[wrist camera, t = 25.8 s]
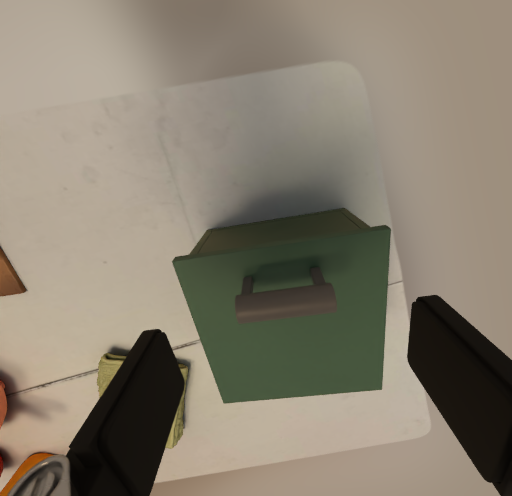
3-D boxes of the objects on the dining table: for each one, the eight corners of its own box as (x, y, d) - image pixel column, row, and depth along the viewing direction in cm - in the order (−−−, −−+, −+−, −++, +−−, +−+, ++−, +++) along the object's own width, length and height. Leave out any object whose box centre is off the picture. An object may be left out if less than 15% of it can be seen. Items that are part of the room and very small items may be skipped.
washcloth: (192, 358, 36) (185, 378, 33) (184, 434, 42) (178, 455, 39) (102, 343, 35) (87, 362, 32) (108, 422, 42) (96, 443, 39)
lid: (175, 256, 19) (147, 295, 14) (385, 224, 17) (429, 256, 13) (224, 396, 26) (216, 452, 21) (378, 382, 24) (405, 439, 19)
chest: (206, 230, 28) (182, 263, 20) (345, 207, 27) (380, 233, 18) (234, 336, 34) (224, 395, 26) (349, 322, 32) (378, 381, 24)
